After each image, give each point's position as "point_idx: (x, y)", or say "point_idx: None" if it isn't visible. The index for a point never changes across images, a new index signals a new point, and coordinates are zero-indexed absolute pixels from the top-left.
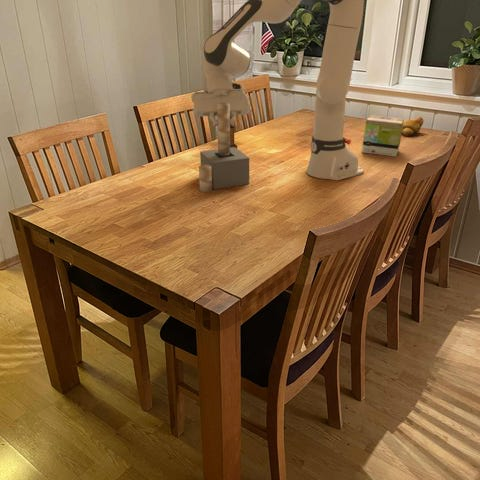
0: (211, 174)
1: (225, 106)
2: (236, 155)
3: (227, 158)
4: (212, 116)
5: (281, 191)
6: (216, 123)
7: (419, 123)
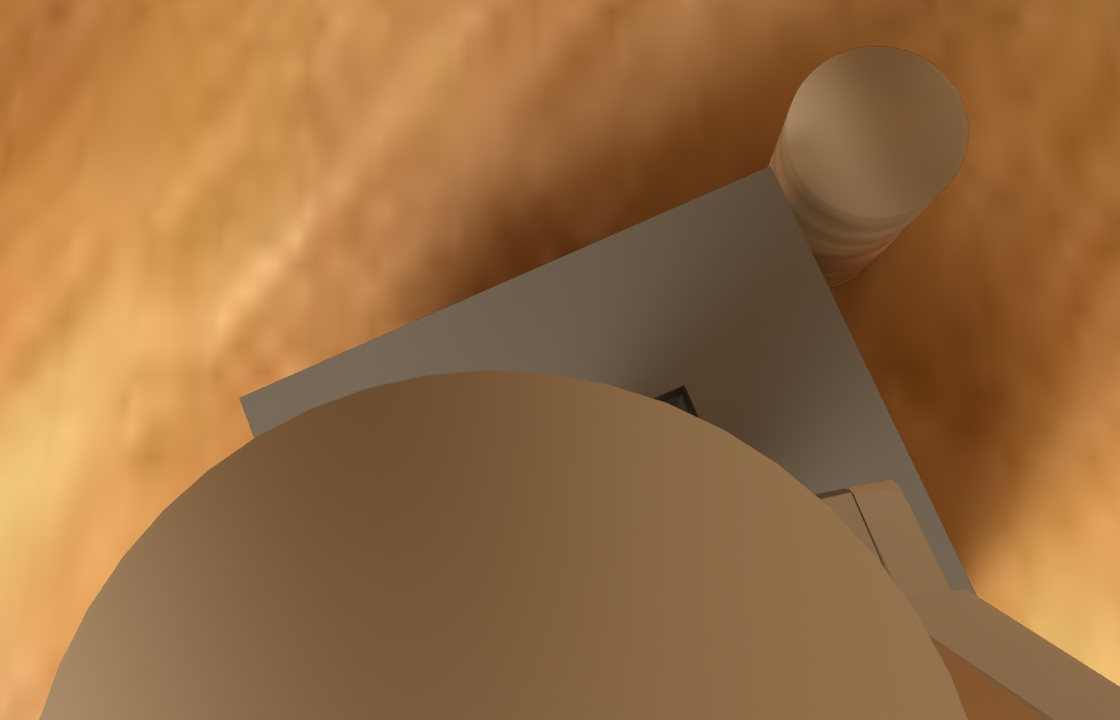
0: (773, 158)
1: (353, 400)
2: None
3: (563, 363)
4: (1035, 680)
5: (60, 221)
6: None
7: None
